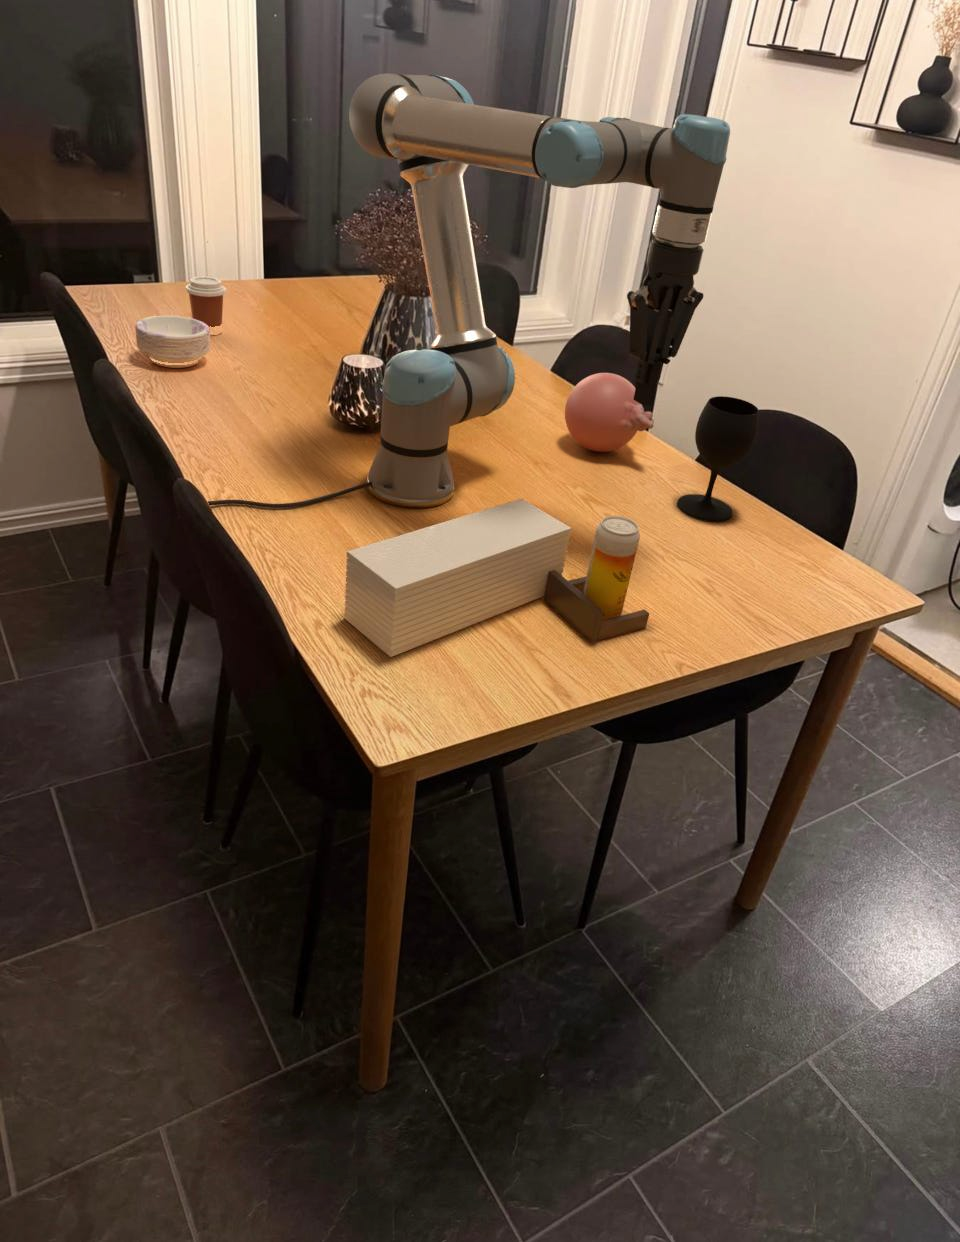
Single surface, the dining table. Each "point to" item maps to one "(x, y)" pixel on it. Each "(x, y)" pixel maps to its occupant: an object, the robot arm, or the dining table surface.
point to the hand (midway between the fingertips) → (642, 402)
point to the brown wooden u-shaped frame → (587, 610)
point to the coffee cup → (206, 299)
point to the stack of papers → (452, 574)
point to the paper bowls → (173, 339)
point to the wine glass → (720, 450)
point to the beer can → (611, 564)
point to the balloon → (605, 412)
